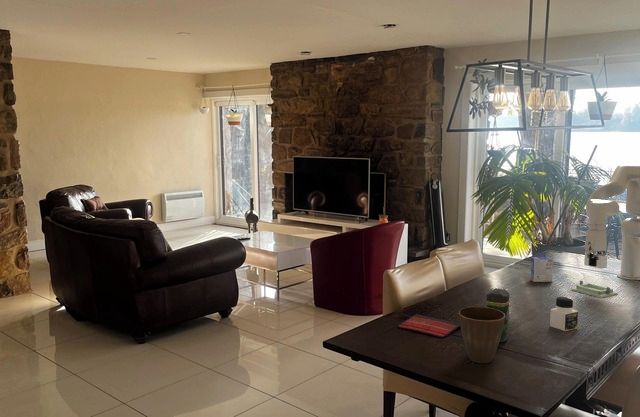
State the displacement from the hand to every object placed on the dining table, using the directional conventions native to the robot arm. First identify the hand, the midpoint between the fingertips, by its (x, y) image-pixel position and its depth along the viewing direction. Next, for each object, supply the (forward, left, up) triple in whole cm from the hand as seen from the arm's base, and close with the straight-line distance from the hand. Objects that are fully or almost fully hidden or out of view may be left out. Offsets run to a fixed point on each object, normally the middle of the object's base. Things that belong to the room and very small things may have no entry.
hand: (595, 265), depth 266 cm
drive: (0, 0, -1) cm, 1 cm away
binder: (+101, +3, -14) cm, 102 cm away
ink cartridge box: (+4, -28, -14) cm, 31 cm away
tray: (0, 0, -13) cm, 13 cm away
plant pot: (+106, +37, -14) cm, 113 cm away
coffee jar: (+87, +25, -14) cm, 92 cm away
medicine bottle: (+55, +28, -14) cm, 63 cm away
